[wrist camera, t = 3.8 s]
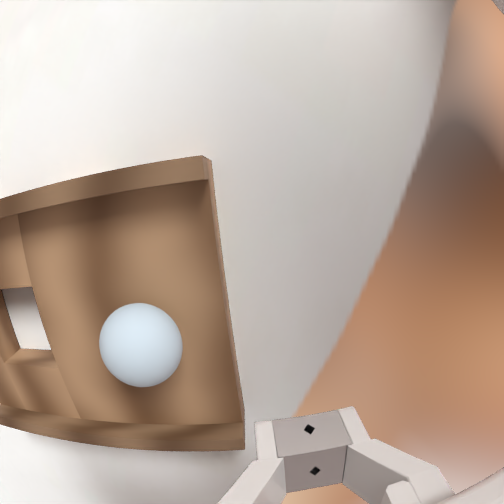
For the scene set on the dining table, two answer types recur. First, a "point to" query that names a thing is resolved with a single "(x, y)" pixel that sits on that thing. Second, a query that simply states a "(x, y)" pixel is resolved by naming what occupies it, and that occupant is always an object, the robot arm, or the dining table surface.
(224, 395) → the wooden tray
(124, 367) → the ball
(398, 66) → the dining table surface
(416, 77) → the dining table surface
